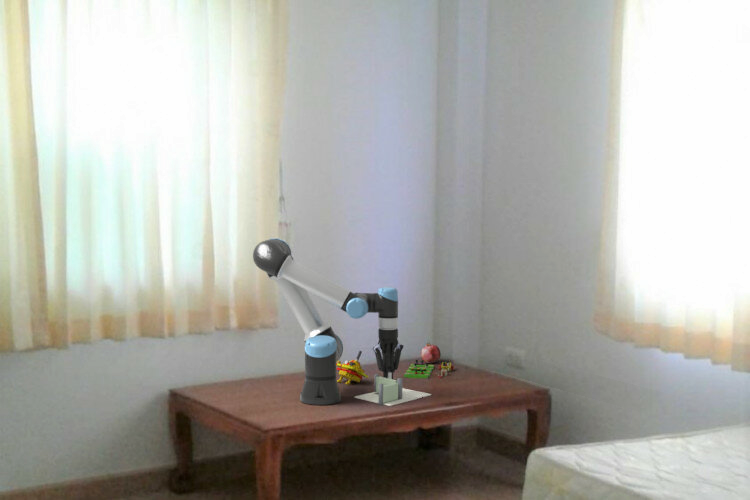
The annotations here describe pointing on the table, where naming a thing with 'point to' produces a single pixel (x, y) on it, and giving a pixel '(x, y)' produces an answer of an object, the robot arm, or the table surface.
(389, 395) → the fence fixed
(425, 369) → the toy garden set
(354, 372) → the toy
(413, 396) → the card
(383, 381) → the fence panel
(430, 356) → the fruit
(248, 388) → the table surface
